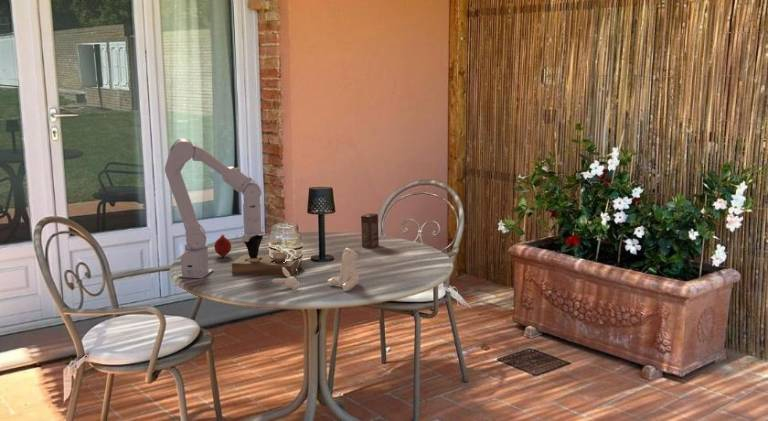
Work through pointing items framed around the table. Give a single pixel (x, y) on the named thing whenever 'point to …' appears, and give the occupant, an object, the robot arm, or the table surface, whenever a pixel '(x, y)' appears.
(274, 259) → the peg
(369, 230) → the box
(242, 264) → the walnut block
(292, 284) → the rabbit figurine
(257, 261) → the peg
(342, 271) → the white creature statuette
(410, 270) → the table surface
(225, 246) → the onion
